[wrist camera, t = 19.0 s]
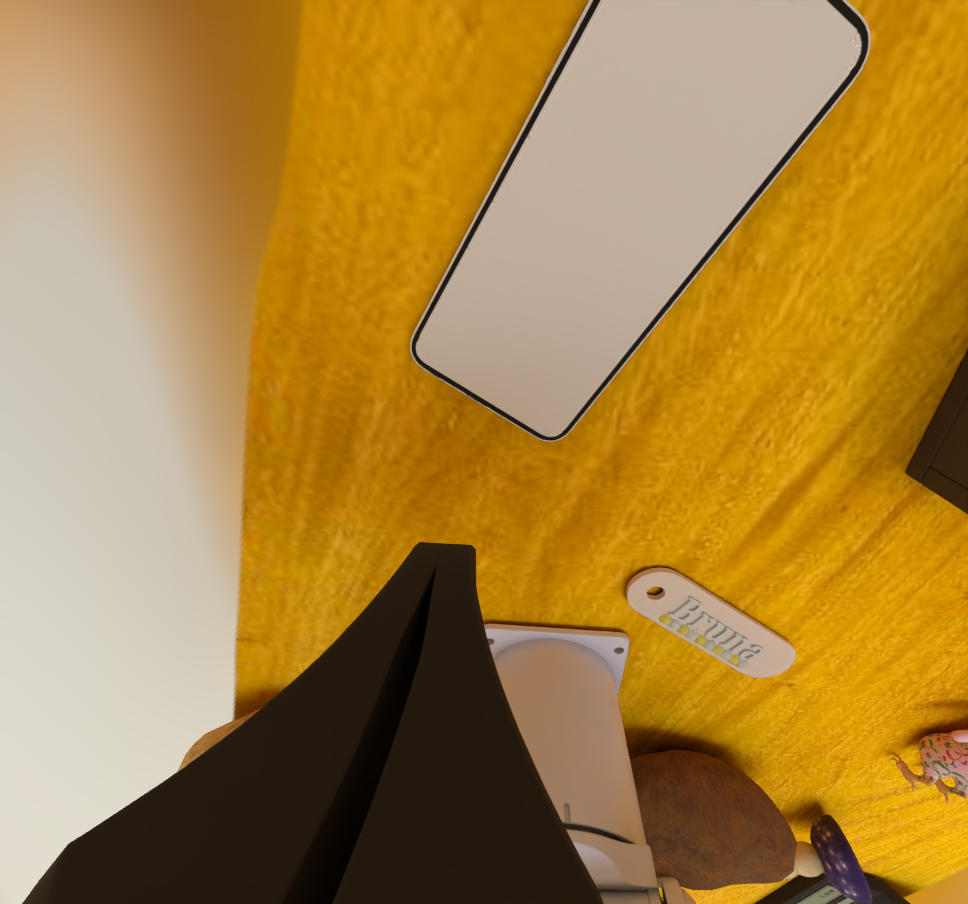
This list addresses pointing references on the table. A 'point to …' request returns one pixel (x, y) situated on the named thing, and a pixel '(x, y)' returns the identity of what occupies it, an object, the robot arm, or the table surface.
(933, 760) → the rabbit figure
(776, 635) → the keychain
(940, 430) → the charcoal case
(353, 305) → the table surface
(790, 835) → the potato
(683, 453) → the table surface
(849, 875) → the purple dumbbell
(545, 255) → the smartphone
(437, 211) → the table surface
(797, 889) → the calculator
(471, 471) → the table surface
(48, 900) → the robot arm
